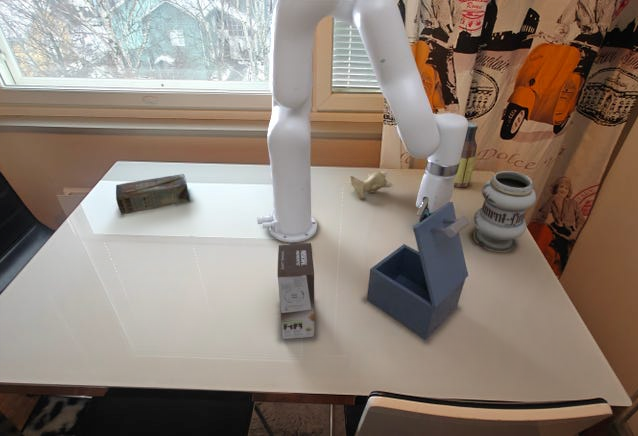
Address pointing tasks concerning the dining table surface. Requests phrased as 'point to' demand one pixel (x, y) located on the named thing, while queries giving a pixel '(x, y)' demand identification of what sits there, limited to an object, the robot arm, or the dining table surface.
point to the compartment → (408, 292)
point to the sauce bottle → (467, 157)
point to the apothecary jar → (503, 210)
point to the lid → (441, 251)
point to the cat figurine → (370, 183)
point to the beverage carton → (152, 193)
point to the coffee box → (296, 290)
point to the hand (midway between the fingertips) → (429, 226)
